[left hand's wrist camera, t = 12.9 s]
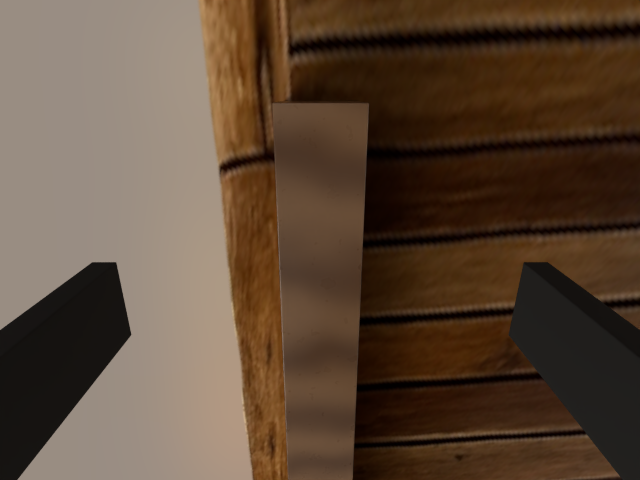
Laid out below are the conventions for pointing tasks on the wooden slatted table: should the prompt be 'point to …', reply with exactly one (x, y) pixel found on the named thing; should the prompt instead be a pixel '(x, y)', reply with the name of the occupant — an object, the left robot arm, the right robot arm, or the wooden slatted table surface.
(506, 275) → the wooden slatted table surface
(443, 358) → the wooden slatted table surface
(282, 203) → the bar
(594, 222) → the wooden slatted table surface
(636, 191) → the wooden slatted table surface
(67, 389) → the left robot arm
